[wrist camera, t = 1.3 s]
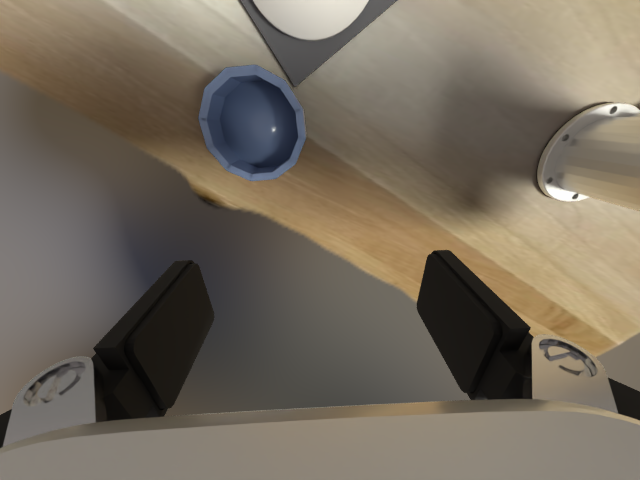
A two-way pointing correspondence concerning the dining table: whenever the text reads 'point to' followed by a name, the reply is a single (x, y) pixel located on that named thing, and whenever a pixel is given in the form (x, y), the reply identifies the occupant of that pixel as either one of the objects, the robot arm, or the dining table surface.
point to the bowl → (252, 122)
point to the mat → (310, 54)
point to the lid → (311, 16)
